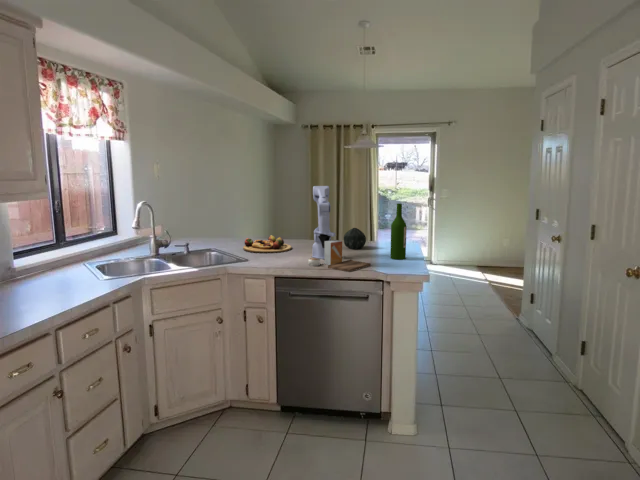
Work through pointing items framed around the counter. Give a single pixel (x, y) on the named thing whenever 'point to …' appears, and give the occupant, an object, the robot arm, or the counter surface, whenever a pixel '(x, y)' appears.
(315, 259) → the ramekin
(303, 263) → the counter surface
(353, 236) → the squash
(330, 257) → the small box
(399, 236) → the wine bottle
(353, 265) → the cutting board
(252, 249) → the wooden plate with food
